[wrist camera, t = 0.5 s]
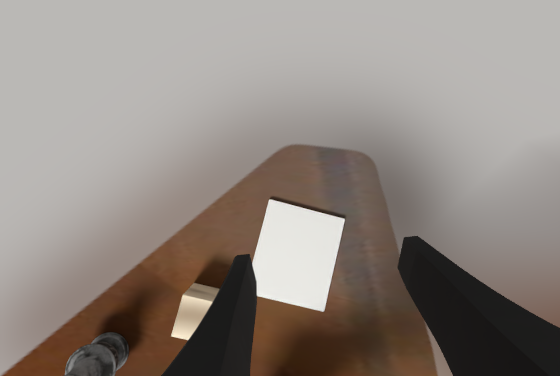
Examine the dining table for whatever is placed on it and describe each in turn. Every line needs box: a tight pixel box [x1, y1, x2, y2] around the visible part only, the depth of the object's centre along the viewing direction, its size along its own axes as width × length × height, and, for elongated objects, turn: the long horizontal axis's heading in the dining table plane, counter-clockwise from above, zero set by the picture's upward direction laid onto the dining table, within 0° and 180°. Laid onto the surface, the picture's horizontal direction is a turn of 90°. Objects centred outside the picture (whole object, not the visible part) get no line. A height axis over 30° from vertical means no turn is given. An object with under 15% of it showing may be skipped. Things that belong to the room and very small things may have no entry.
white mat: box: [252, 199, 345, 312], centre depth 36 cm, size 14×12×1 cm
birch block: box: [171, 283, 220, 340], centre depth 32 cm, size 5×5×5 cm
